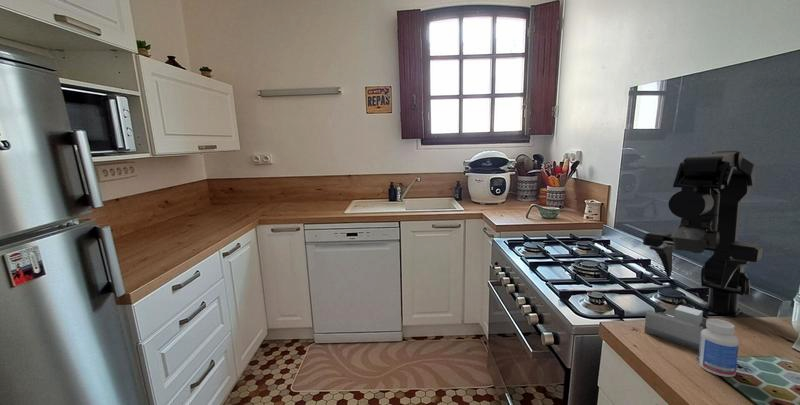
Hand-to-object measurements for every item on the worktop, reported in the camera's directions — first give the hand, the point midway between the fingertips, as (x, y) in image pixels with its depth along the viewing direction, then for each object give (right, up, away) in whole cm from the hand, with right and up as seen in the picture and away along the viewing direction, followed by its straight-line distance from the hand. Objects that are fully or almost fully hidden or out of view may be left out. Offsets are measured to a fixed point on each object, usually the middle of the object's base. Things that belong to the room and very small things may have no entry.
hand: (694, 282), depth 72 cm
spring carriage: (+5, -12, +9) cm, 16 cm away
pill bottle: (-3, -16, -8) cm, 18 cm away
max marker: (+1, -12, +10) cm, 16 cm away
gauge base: (+4, -14, +8) cm, 16 cm away
